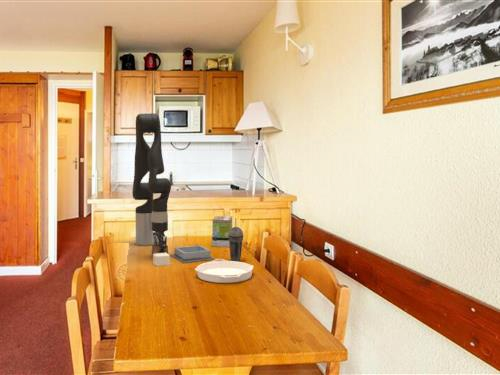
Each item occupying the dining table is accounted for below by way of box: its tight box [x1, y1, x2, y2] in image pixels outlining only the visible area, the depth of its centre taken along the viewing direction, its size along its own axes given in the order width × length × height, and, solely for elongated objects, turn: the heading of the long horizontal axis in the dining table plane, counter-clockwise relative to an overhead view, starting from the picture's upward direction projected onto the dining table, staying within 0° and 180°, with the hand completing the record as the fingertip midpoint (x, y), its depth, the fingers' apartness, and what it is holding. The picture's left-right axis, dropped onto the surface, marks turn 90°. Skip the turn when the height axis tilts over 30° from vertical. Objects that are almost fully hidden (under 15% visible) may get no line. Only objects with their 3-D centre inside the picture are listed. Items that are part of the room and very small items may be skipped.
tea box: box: [211, 215, 233, 248], centre depth 241 cm, size 15×10×15 cm
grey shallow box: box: [169, 244, 216, 264], centre depth 210 cm, size 18×16×4 cm
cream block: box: [152, 253, 171, 267], centre depth 197 cm, size 6×6×4 cm
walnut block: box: [151, 244, 169, 259], centre depth 209 cm, size 6×6×6 cm
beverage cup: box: [228, 217, 245, 262], centre depth 205 cm, size 7×7×20 cm
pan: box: [194, 258, 255, 284], centre depth 180 cm, size 24×27×4 cm
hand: (159, 255), depth 209 cm, fingers closed on walnut block, 6 cm apart
